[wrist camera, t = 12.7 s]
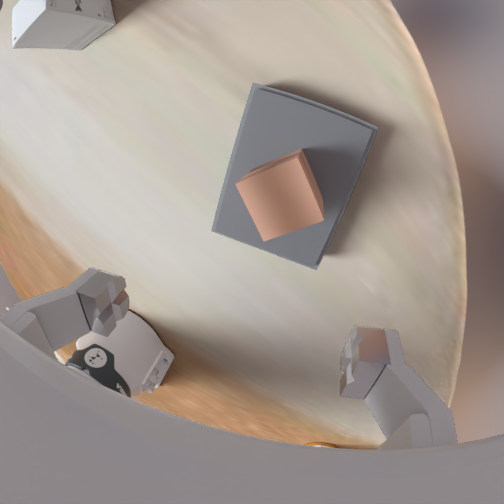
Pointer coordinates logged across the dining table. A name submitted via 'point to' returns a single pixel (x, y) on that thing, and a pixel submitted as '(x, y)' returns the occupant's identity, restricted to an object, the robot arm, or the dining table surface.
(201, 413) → the dining table surface
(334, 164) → the plinth
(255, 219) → the terracotta block
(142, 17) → the dining table surface
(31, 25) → the supplement box
